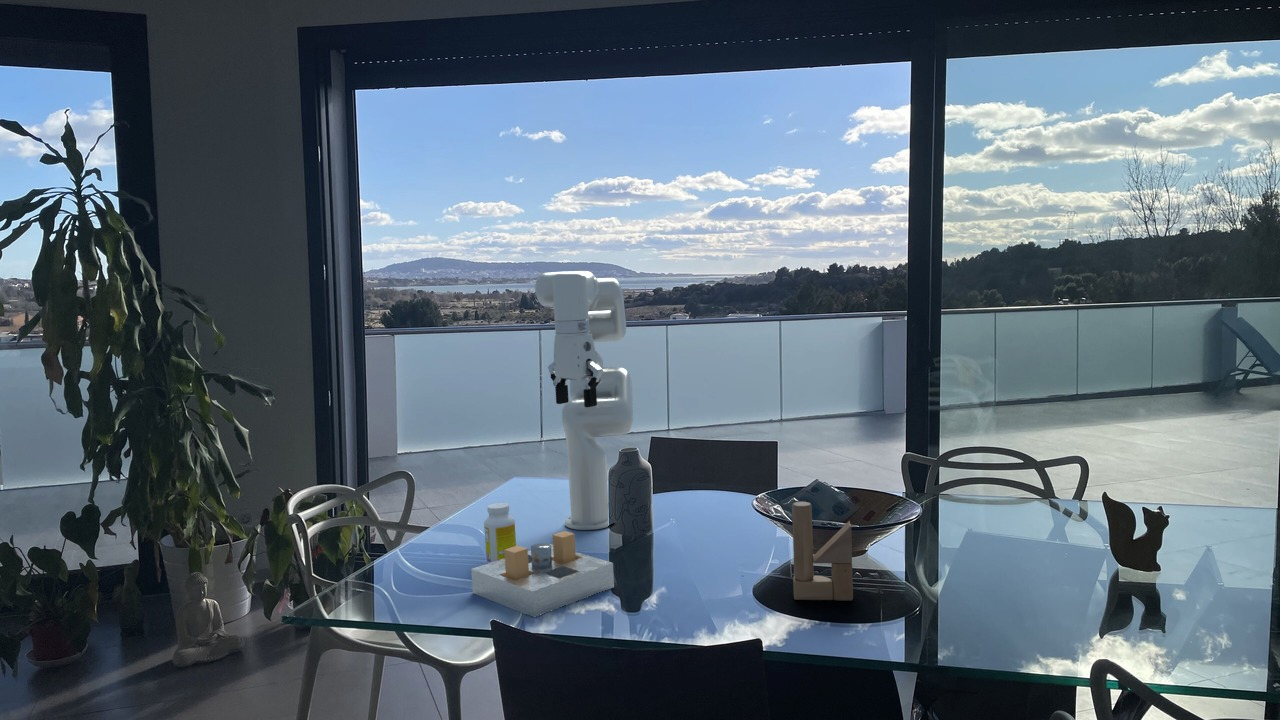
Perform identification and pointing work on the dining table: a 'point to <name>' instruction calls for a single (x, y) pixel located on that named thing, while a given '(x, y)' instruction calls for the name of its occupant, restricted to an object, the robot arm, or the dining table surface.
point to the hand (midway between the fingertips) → (576, 404)
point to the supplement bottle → (498, 531)
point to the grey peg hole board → (543, 581)
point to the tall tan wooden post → (516, 562)
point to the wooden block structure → (820, 560)
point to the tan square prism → (564, 547)
